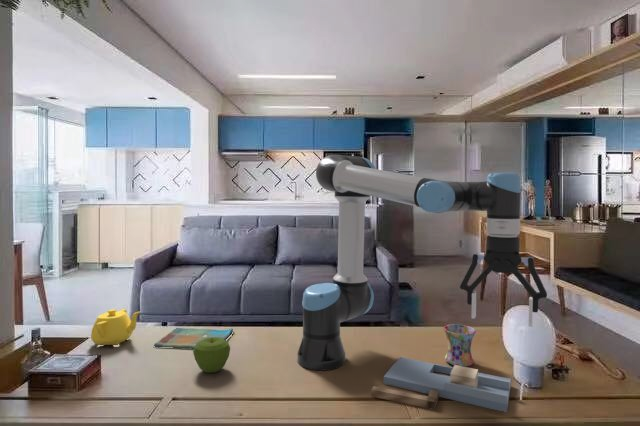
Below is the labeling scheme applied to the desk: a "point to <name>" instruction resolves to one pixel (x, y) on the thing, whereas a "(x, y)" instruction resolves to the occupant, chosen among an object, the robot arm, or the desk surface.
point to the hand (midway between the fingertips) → (501, 321)
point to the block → (464, 376)
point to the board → (449, 384)
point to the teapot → (113, 327)
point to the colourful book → (190, 337)
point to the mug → (459, 344)
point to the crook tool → (407, 397)
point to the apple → (211, 354)
